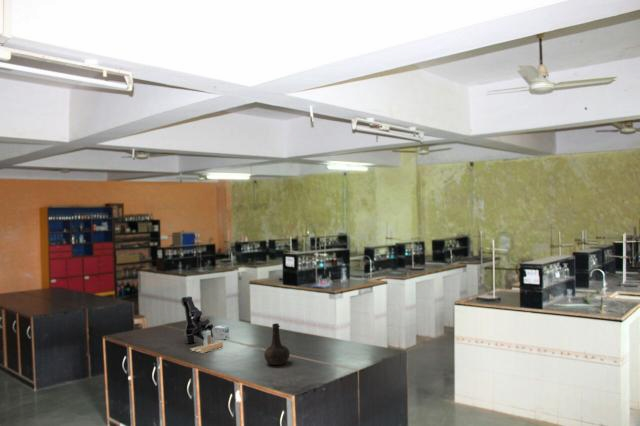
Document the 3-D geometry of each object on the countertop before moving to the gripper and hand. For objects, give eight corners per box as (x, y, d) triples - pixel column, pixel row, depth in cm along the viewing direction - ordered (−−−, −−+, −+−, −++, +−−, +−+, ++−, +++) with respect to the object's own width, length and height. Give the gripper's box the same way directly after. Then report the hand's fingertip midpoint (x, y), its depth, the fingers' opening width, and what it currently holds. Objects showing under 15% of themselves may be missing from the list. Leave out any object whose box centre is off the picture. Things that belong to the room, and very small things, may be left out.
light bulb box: (229, 338, 440) (229, 325, 440) (225, 340, 434) (224, 327, 434) (219, 337, 444) (219, 325, 444) (214, 339, 438) (214, 326, 438)
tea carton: (203, 347, 404) (203, 331, 404) (208, 346, 407) (207, 330, 407) (207, 348, 401) (206, 331, 401) (211, 347, 405) (211, 330, 405)
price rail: (201, 351, 393) (200, 347, 393) (222, 345, 408) (221, 341, 408) (201, 351, 393) (201, 347, 393) (222, 345, 407) (222, 342, 407)
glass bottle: (273, 369, 346) (271, 328, 346) (260, 363, 361) (258, 324, 361) (294, 363, 357) (293, 323, 357) (281, 358, 371) (279, 320, 371)
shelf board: (190, 351, 403) (189, 348, 403) (211, 345, 418) (210, 342, 418) (201, 354, 393) (201, 351, 393) (222, 348, 407) (222, 345, 407)
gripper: (193, 318, 399) (204, 334, 393) (211, 314, 414) (221, 329, 408) (187, 327, 403) (197, 343, 397) (205, 323, 419) (215, 337, 413)
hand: (208, 338), depth 404 cm, fingers open, 9 cm apart
